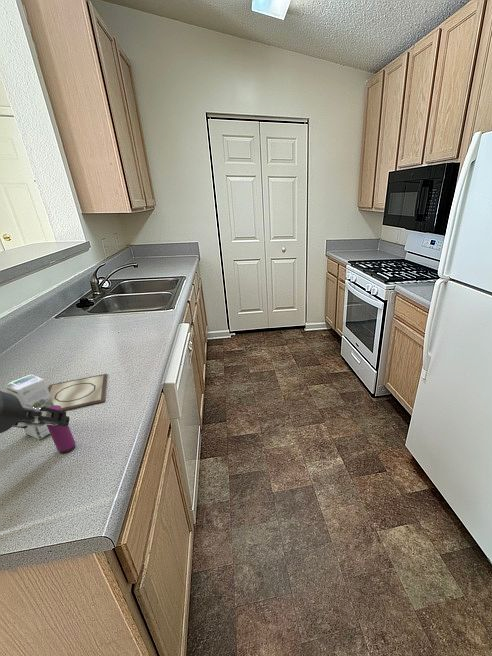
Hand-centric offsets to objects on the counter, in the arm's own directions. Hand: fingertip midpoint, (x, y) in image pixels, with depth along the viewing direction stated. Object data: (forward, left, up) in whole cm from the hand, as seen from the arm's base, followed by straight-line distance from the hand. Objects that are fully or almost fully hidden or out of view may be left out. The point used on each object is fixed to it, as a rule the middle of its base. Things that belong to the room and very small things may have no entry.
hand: (46, 422), depth 71 cm
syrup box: (-5, +12, -9) cm, 16 cm away
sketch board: (0, +29, -9) cm, 31 cm away
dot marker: (+1, +2, -9) cm, 10 cm away
